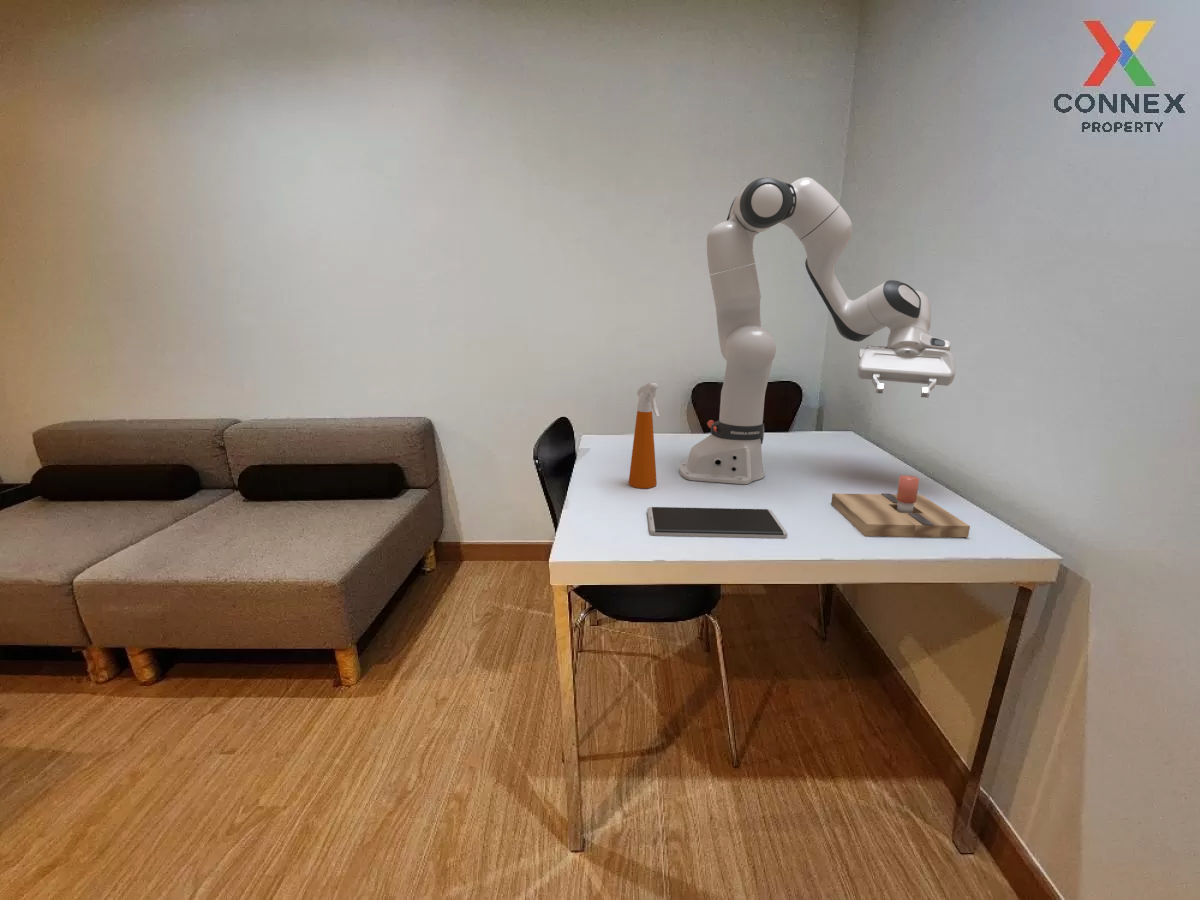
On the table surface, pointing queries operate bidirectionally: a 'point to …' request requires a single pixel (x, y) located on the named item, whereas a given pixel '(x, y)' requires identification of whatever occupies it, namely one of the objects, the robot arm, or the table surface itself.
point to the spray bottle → (644, 440)
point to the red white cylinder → (907, 493)
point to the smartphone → (714, 522)
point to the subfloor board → (898, 516)
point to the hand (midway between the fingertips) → (901, 393)
